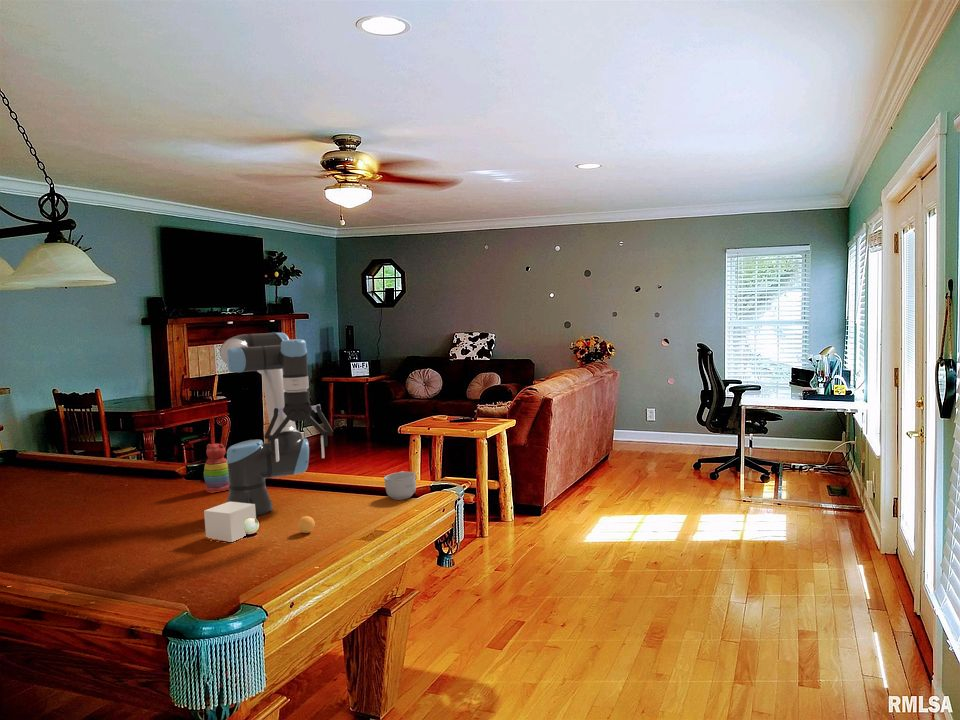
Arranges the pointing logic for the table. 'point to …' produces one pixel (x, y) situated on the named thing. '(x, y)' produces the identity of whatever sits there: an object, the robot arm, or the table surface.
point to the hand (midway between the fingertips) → (300, 459)
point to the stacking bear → (216, 468)
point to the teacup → (400, 485)
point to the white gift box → (228, 520)
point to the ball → (306, 524)
